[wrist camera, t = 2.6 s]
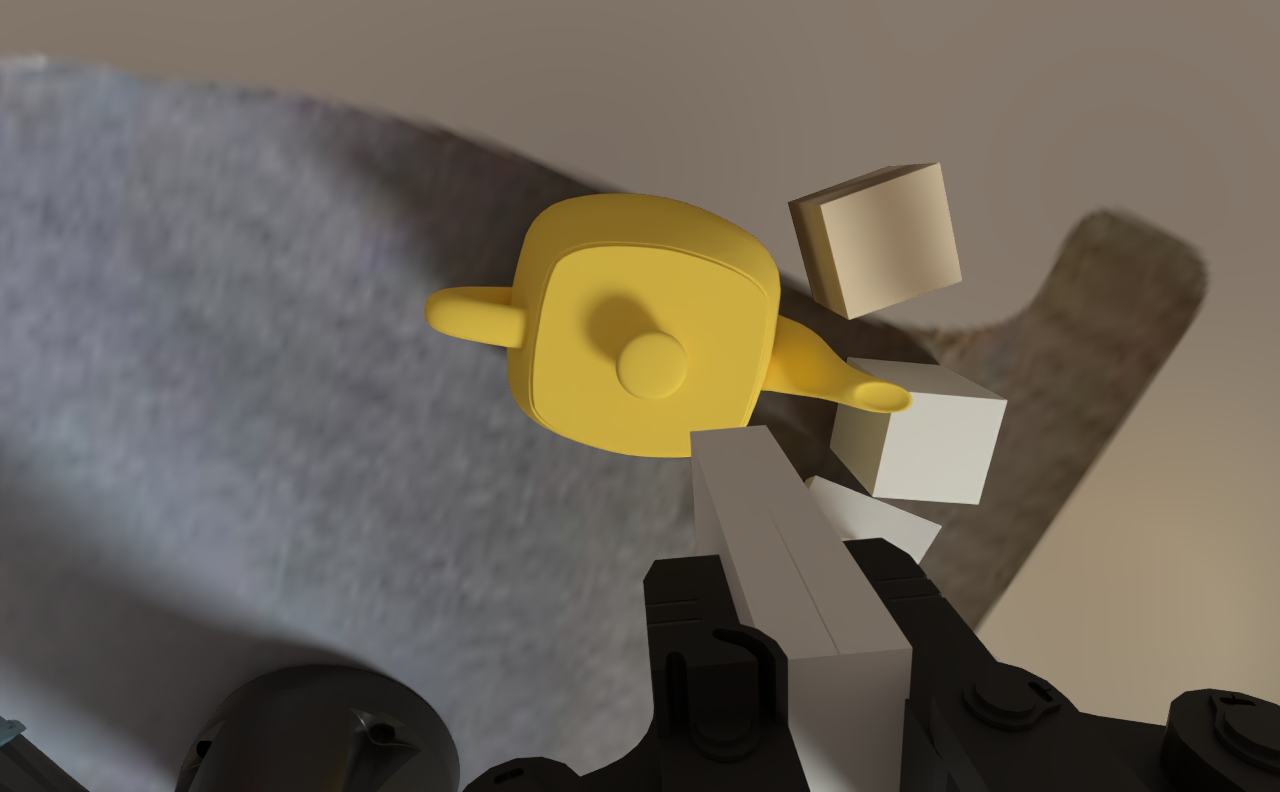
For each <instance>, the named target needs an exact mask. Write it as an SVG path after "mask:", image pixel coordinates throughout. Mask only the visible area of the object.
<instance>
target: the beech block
mask: <svg viewBox="0 0 1280 792" xmlns="http://www.w3.org/2000/svg"><path fill="white" fill-rule="evenodd" d="M788 205H789V209H790V213H791V216H792V220H793V224H794V228H795V231H796V235H797V239H798V243H799V247H800V250H801V254H802V258H803V262H804V266H805V269H806V273H807V277H808V281H809V284H810V288H811V290H812V294H813V298H814V301H815V302H817V303H819V304H821V305H823V306H824V307H826V308H828V309H830V310H832V311H834V312H835V313H837V314H839V315H841V316H843V317H845V318H846V319H848V320H850V319H853V318H856V317H859V316H862V315H865V314H868V313H871V312H873V311H876V310H879V309H882V308H885V307H888V306H891V305H894V304H897V303H899V302H902V301H905V300H908V299H911V298H914V297H916V296H920V295H922V294H925V293H928V292H931V291H934V290H937V289H940V288H943V287H945V286H948V285H951V284H954V283H957V282H960V281H962V277H961V272H960V266H959V261H958V256H957V251H956V246H955V240H954V235H953V230H952V225H951V219H950V214H949V209H948V203H947V198H946V193H945V188H944V182H943V177H942V173H941V167H940V163H928V164H913V165H899V166H888V167H885V168H882V169H880V170H877V171H874V172H871V173H868V174H866V175H863V176H860V177H857V178H854V179H852V180H849V181H846V182H843V183H841V184H838V185H835V186H832V187H829V188H827V189H824V190H821V191H818V192H815V193H813V194H810V195H807V196H804V197H802V198H799V199H796V200H793V201H790V202H788Z"/></svg>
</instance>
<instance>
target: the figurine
mask: <svg viewBox="0 0 1280 792" xmlns="http://www.w3.org/2000/svg"><path fill="white" fill-rule="evenodd" d="M804 484H805V485H806V487H807V488H808V490H809V491H810V493H811V494H812V496H813V498H814V499H815V501H816V502H817V504H818V505H819V507H820V508H821V510H822V511H823V513H824V514H825V516H826V517H827V519H828V520H829V522H830V523H831V525H832V526H833V528H834V529H835V531H836V533H837V534H838V536H839V537H840V539H841V540H842V541H847V540H858V539H870V538H881V537H882V538H883V539H885V540H887V541H888V542H890V543H892V544H893V545H895V546H897V547H898V548H900V549H902V550H903V551H905V552H907V553H908V554H910V555H911V557H912V558H913V559H914V560H915V562H916V563H917V564H919V562H920V561H921V559H922V557H923V556H924V554H925V553H926V551H927V549H928V548H929V546H930V545H931V543H932V541H933V540H934V538H935V537H936V535H937V534H938V532H939V530H940V529H941V527H942V526H940V525H938V524H935V523H933V522H930V521H928V520H925V519H923V518H920V517H918V516H915V515H913V514H910V513H908V512H905V511H903V510H900V509H898V508H895V507H893V506H890V505H888V504H885V503H883V502H881V501H878V500H876V499H873V498H871V497H868V496H866V495H863V494H861V493H858V492H856V491H853V490H851V489H848V488H846V487H843V486H841V485H838V484H836V483H833V482H831V481H828V480H826V479H824V478H821V477H819V476H814V477H811V478H809V479H806V481H805V482H804ZM989 652H990V651H989ZM990 653H991V652H990ZM991 655H992V656H993V657H994V658H995V659H996V661H997V662H1001V661H1000V660H999V659H998V658H997V657H996V656H995V655H994V654H992V653H991ZM1001 663H1002V662H1001Z"/></svg>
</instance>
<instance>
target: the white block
mask: <svg viewBox="0 0 1280 792" xmlns="http://www.w3.org/2000/svg"><path fill="white" fill-rule="evenodd" d="M846 363H847V364H848V365H850V366H851V367H853V368H854V369H856V370H858V371H860V372H862V373H865V374H867V375H870V376H873V377H877V378H880V379H883V380H886V381H889V382H891V383H894V384H896V385H899V386H900V387H902V388H904V389H905V390H907V391H908V392H909V393H910V394H911V396H912V398H913V403H912V405H911V407H910V408H908V409H907V410H904V411H901V412H895V413H879V412H871V411H867V410H863V409H859V408H855V407H852V406H849V405H845V404H841V403H838V407H837V412H836V417H835V422H834V427H833V432H832V437H831V442H830V447H829V448H830V449H831V450H832V451H833V452H834V453H835V454H836V456H837V457H838V458H839V459H840V460H841V461H842V462H843V464H844V465H845V466H846V467H847V468H848V469H849V470H850V472H851V473H852V474H853V475H854V476H855V477H856V478H857V480H858V481H859V482H860V483H861V484H862V485H863V486H864V488H865V489H866V490H867V491H868V492H869V493H870V494H871V496H872V497H883V498H897V499H911V500H924V501H938V502H952V503H966V504H979V500H980V497H981V493H982V489H983V486H984V482H985V479H986V475H987V471H988V468H989V464H990V461H991V457H992V453H993V450H994V446H995V443H996V439H997V435H998V432H999V428H1000V425H1001V421H1002V418H1003V414H1004V410H1005V407H1006V403H1007V400H1006V399H1004V398H1002V397H1000V396H998V395H996V394H994V393H992V392H990V391H989V390H987V389H985V388H983V387H981V386H979V385H977V384H975V383H973V382H971V381H969V380H968V379H966V378H964V377H962V376H960V375H958V374H956V373H954V372H952V371H950V370H948V369H947V368H945V367H943V366H941V365H931V364H919V363H908V362H897V361H886V360H874V359H863V358H852V357H847V362H846Z"/></svg>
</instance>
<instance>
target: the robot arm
mask: <svg viewBox="0 0 1280 792" xmlns="http://www.w3.org/2000/svg"><path fill="white" fill-rule="evenodd" d="M690 442H691V461H692V479H693V498H694V517H695V535H696V554H697V556H695V557H684V558H673V559H662V560H655V561H654V563H653V564H652V566H651V568H650V570H649V571H648V573H647V575H646V577H645V578H644V580H643V584H644V596H645V608H646V620H647V632H648V645H649V657H650V668H651V680H652V691H653V702H654V714H653V719H652V722H651V724H650V727H649V729H648V732H647V733H646V735H645V736H644V737H643V739H642V740H641V741H640V743H639V744H638V745H637V746H636V747H635V748H634V749H632V750H631V751H630V752H629V753H628V754H626V755H625V756H624V757H623V758H621V759H619V760H617V761H615V762H613V763H611V764H609V765H607V766H606V767H603V768H601V769H598V770H596V771H593V772H591V773H588V774H586V775H583V776H581V777H580V776H579V775H577V774H576V773H575V772H574V771H573V770H572V769H571V768H569V767H568V766H567V765H566V764H565V763H561V762H558V761H555V760H551V759H548V758H544V757H530V758H516V759H513V760H510V761H508V762H505V763H503V764H500V765H497V766H495V767H492V768H490V769H488V770H487V771H486V772H484V773H483V774H482V775H480V776H479V777H478V778H476V779H475V780H474V781H472V782H471V783H470V784H468V785H467V786H466V788H465V789H464V790H463V792H1280V706H1279V705H1277V704H1274V703H1271V702H1268V701H1265V700H1262V699H1259V698H1255V697H1252V696H1249V695H1246V694H1243V693H1239V692H1231V691H1224V690H1217V689H1202V690H1194V691H1187V692H1184V693H1183V694H1181V695H1180V696H1179V697H1177V698H1176V699H1174V700H1173V701H1172V702H1171V705H1170V710H1169V714H1168V720H1167V724H1166V726H1162V725H1156V724H1149V723H1142V722H1136V721H1129V720H1122V719H1116V718H1109V717H1102V716H1096V715H1092V714H1087V713H1082V712H1079V711H1078V709H1077V708H1076V707H1075V706H1074V705H1073V704H1072V703H1071V702H1070V700H1068V698H1066V697H1065V696H1064V695H1063V694H1062V693H1061V692H1059V691H1058V690H1057V689H1056V688H1055V687H1054V686H1052V685H1051V684H1050V683H1049V682H1048V681H1046V680H1044V679H1042V678H1040V677H1038V676H1036V675H1034V674H1032V673H1030V672H1028V671H1026V670H1024V669H1022V668H1019V667H1015V666H1012V665H1008V664H1005V663H1001V662H997V661H996V659H995V658H994V657H993V656H992V655H991V653H990V652H989V651H988V650H987V648H986V647H985V646H984V645H983V644H982V642H981V641H980V640H979V639H978V637H977V636H976V635H975V634H974V633H973V631H972V630H971V629H970V628H969V626H968V625H967V624H966V623H965V622H964V620H963V619H962V618H961V617H960V615H959V614H958V613H957V612H956V610H955V609H954V608H953V607H952V606H951V604H950V603H949V602H948V601H947V599H946V598H942V596H941V592H940V591H939V590H938V588H937V587H936V586H935V585H934V584H933V582H932V581H931V580H930V579H929V580H928V579H927V575H926V574H925V573H924V571H923V570H922V569H921V568H920V566H919V565H918V564H917V563H916V562H915V560H914V559H913V558H912V557H911V555H910V554H908V553H907V552H905V551H903V550H902V549H900V548H898V547H897V546H895V545H893V544H892V543H890V542H888V541H887V540H885V539H883V538H882V537H881V538H870V539H858V540H847V541H842V540H841V539H840V537H839V536H838V534H837V533H836V531H835V529H834V528H833V526H832V525H831V523H830V522H829V520H828V519H827V517H826V516H825V514H824V513H823V511H822V510H821V508H820V507H819V505H818V504H817V502H816V501H815V499H814V498H813V496H812V494H811V493H810V491H809V490H808V488H807V487H806V485H805V484H804V482H803V481H802V479H801V478H800V476H799V475H798V473H797V472H796V470H795V469H794V467H793V466H792V464H791V463H790V461H789V460H788V458H787V456H786V455H785V453H784V452H783V450H782V449H781V447H780V446H779V444H778V443H777V441H776V440H775V438H774V437H773V435H772V434H771V432H770V431H769V429H768V428H767V426H766V425H760V426H749V427H737V428H725V429H714V430H702V431H690ZM25 729H26V727H25V726H24V725H23V724H22V723H21V722H20V721H17V720H5V719H4V718H3V717H1V716H0V792H89V791H88V790H87V789H86V788H85V787H83V786H82V785H81V784H80V783H78V782H77V781H76V780H75V779H73V778H72V777H71V776H70V775H69V774H67V773H66V772H65V771H64V770H63V769H61V768H60V767H59V766H58V765H57V764H56V763H54V762H53V761H52V760H51V759H50V758H49V757H47V756H46V755H45V754H44V753H43V752H42V751H40V750H39V749H38V748H37V747H36V746H35V745H33V744H32V743H31V742H30V741H29V740H28V739H26V738H25V737H24V736H23V735H22V734H20V733H21V732H23V731H24V730H25ZM459 780H460V764H459V758H458V753H457V749H456V747H455V744H454V741H453V739H452V737H451V735H450V733H449V731H448V729H447V728H446V726H445V725H444V723H443V722H442V720H441V719H440V718H439V717H438V715H437V714H436V713H435V712H434V711H433V710H432V709H431V708H430V707H429V706H428V705H427V704H426V703H425V702H423V701H422V700H421V699H420V698H419V697H417V696H416V695H414V694H413V693H412V692H410V691H408V690H407V689H405V688H404V687H402V686H400V685H398V684H396V683H394V682H392V681H390V680H388V679H385V678H383V677H380V676H378V675H375V674H372V673H368V672H365V671H361V670H357V669H352V668H346V667H338V666H325V665H321V666H302V667H294V668H289V669H284V670H280V671H276V672H273V673H270V674H267V675H264V676H262V677H259V678H257V679H255V680H253V681H251V682H249V683H247V684H246V685H244V686H242V687H241V688H239V689H238V690H237V691H235V692H234V693H233V694H231V695H230V696H229V697H228V698H227V699H226V700H225V701H224V702H223V703H222V704H221V705H220V706H219V708H218V709H217V710H216V711H215V713H214V714H213V715H212V717H211V718H210V720H209V721H208V722H207V724H206V725H205V726H204V728H203V729H202V730H201V732H200V733H199V734H198V736H197V737H196V739H195V740H194V742H193V744H192V746H191V747H190V749H189V751H188V753H187V755H186V758H185V760H184V762H183V766H182V769H181V772H180V775H179V778H178V782H177V785H176V788H175V791H174V792H457V791H458V787H459Z"/></svg>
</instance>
